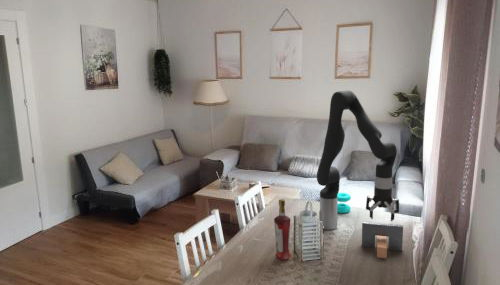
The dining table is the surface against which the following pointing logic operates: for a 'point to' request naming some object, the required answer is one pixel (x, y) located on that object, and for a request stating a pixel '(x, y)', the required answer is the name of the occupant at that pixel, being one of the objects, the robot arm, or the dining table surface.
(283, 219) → the liquor
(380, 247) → the plug
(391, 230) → the plate
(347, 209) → the donuts
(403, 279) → the dining table surface
